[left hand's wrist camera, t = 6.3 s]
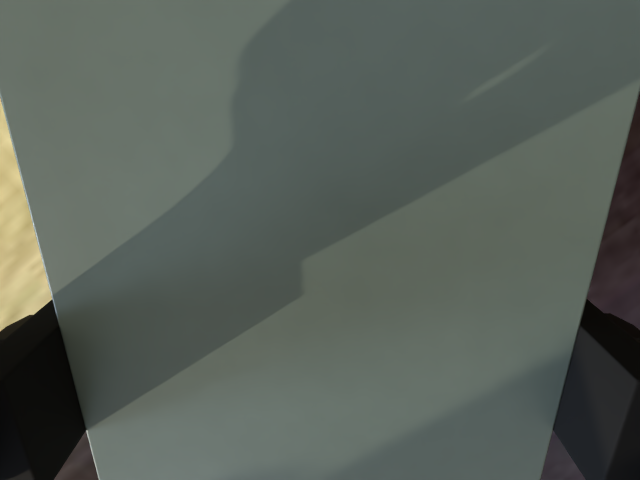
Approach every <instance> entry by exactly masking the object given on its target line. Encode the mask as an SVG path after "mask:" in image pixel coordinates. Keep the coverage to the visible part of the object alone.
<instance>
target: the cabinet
mask: <svg viewBox="0 0 640 480" xmlns="http://www.w3.org/2000/svg"><path fill="white" fill-rule="evenodd" d="M639 92H640V0H0V98H1V102H2V106H3V109H4V113H5V117H6V121H7V125H8V129H9V133H10V137H11V140H12V144H13V148H14V152H15V156H16V160H17V164H18V168H19V172H20V175H21V179H22V183H23V187H24V191H25V195H26V199H27V203H28V206H29V210H30V214H31V218H32V222H33V226H34V230H35V234H36V237H37V241H38V245H39V249H40V253H41V257H42V261H43V265H44V268H45V272H46V276H47V280H48V284H49V288H50V292H51V296H52V299H53V303H54V307H55V311H56V315H57V319H58V323H59V327H60V331H61V334H62V338H63V342H64V346H65V350H66V354H67V358H68V362H69V365H70V369H71V373H72V377H73V381H74V385H75V389H76V393H77V396H78V400H79V404H80V408H81V412H82V416H83V420H84V424H85V427H86V431H87V435H88V439H89V443H90V447H91V451H92V455H93V459H94V462H95V466H96V470H97V474H98V478H99V480H540V479H541V475H542V471H543V467H544V463H545V459H546V455H547V451H548V447H549V444H550V440H551V436H552V432H553V428H554V424H555V420H556V416H557V412H558V408H559V404H560V401H561V397H562V393H563V389H564V385H565V381H566V377H567V373H568V369H569V365H570V361H571V358H572V354H573V350H574V346H575V342H576V338H577V334H578V330H579V326H580V322H581V318H582V315H583V311H584V307H585V303H586V299H587V295H588V291H589V287H590V283H591V279H592V275H593V272H594V268H595V264H596V260H597V256H598V252H599V248H600V244H601V240H602V236H603V232H604V229H605V225H606V221H607V217H608V213H609V209H610V205H611V201H612V197H613V193H614V189H615V186H616V182H617V178H618V174H619V170H620V166H621V162H622V158H623V154H624V150H625V146H626V143H627V139H628V135H629V131H630V127H631V123H632V119H633V115H634V111H635V107H636V103H637V100H638V96H639Z"/></svg>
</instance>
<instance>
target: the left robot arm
mask: <svg viewBox="0 0 640 480" xmlns="http://www.w3.org/2000/svg"><path fill="white" fill-rule="evenodd" d="M553 430H554V432H555V433H556V435H557V436H558V438H559V439H560V441H561V442H562V444H563V446H564V447H565V449H566V450H567V452H568V453H569V455H570V456H571V458H572V459H573V461H574V462H575V464H576V465H577V467H578V468H579V470H580V471H581V473H582V474H583V476H584V477H585V479H586V480H640V330H639V329H638V328H636V327H635V326H634V325H632V324H630V323H628V322H626V321H624V320H622V319H620V318H618V317H616V316H614V315H612V314H604V313H603V312H602V311H600V310H599V309H598V308H597V307H596V306H594V305H593V304H592V303H591V302H590V301H588V300H587V299H586V303H585V307H584V311H583V315H582V318H581V322H580V326H579V330H578V334H577V338H576V342H575V346H574V350H573V354H572V358H571V361H570V365H569V369H568V373H567V377H566V381H565V385H564V389H563V393H562V397H561V401H560V404H559V408H558V412H557V416H556V420H555V424H554V428H553ZM85 431H86V427H85V424H84V420H83V416H82V412H81V408H80V404H79V400H78V396H77V393H76V389H75V385H74V381H73V377H72V373H71V369H70V365H69V362H68V358H67V354H66V350H65V346H64V342H63V338H62V334H61V331H60V327H59V323H58V319H57V315H56V311H55V307H54V303H53V299H52V300H51V301H50V302H49V303H47V304H46V305H45V306H44V307H43V308H41V309H40V310H39V311H38V312H37V313H36V314H34V315H29V316H27V317H25V318H23V319H21V320H19V321H17V322H15V323H13V324H11V325H9V326H7V327H6V328H4V329H3V330H2V331H1V332H0V480H54V478H55V477H56V475H57V474H58V472H59V471H60V469H61V468H62V466H63V465H64V463H65V462H66V460H67V458H68V457H69V455H70V454H71V452H72V451H73V449H74V448H75V446H76V445H77V443H78V442H79V440H80V439H81V437H82V436H83V434H84V433H85Z"/></svg>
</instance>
